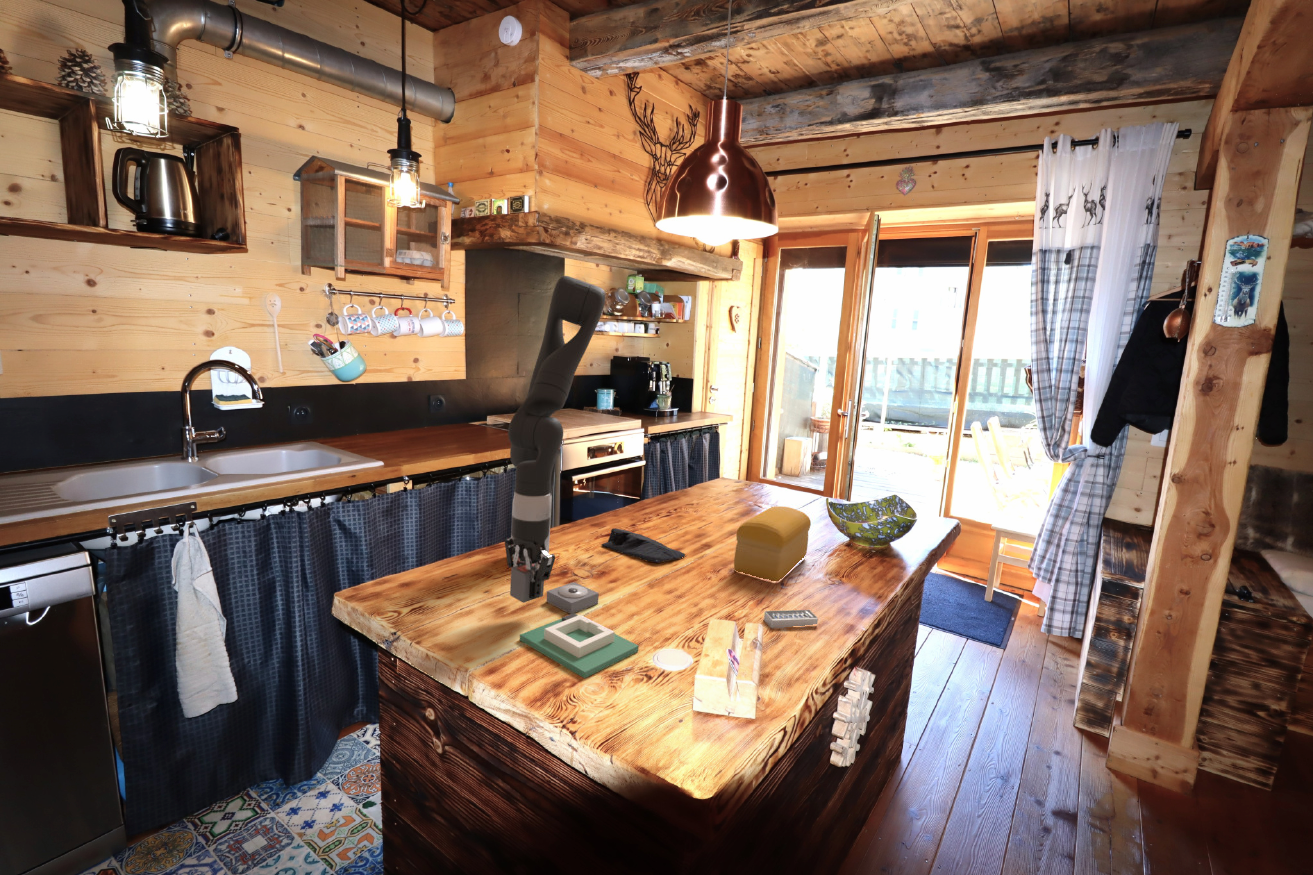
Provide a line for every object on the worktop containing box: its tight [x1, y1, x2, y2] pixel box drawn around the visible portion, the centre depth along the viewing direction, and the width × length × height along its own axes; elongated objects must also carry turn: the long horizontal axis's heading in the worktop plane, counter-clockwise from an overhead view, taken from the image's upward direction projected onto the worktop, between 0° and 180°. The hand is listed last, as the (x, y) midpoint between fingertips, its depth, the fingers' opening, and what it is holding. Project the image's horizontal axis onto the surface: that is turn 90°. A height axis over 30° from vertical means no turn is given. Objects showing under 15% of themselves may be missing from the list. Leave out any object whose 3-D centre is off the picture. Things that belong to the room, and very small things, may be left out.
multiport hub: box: [763, 609, 819, 629], centre depth 136 cm, size 4×11×2 cm, turn 104°
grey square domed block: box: [545, 581, 600, 615], centre depth 137 cm, size 8×8×3 cm
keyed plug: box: [509, 563, 545, 604], centre depth 127 cm, size 4×6×6 cm
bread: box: [733, 505, 812, 581], centre depth 170 cm, size 24×13×15 cm, turn 150°
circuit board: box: [519, 613, 640, 679], centre depth 119 cm, size 18×14×3 cm
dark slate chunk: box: [601, 527, 686, 564], centre depth 174 cm, size 15×22×5 cm
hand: (526, 593), depth 128 cm, fingers closed on keyed plug, 4 cm apart
